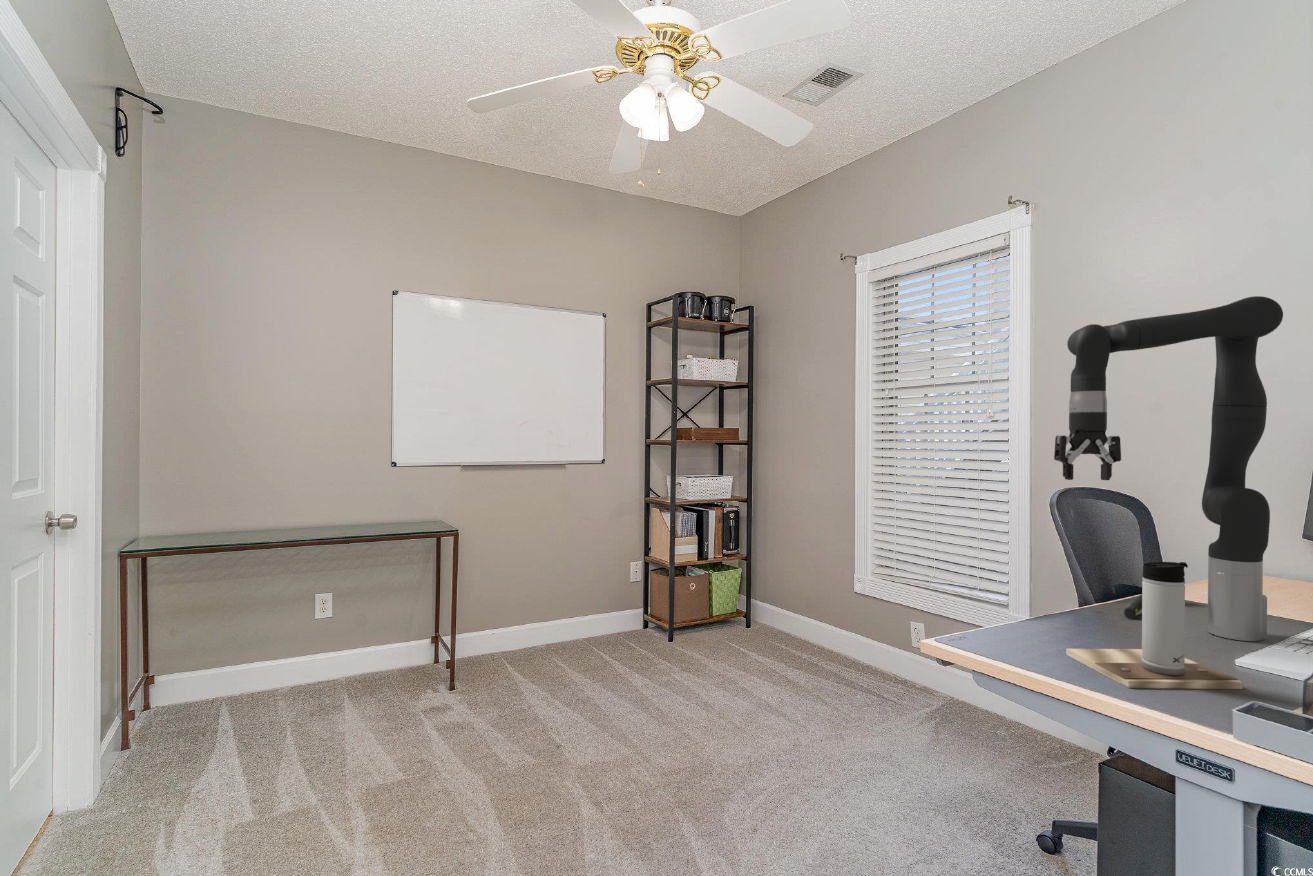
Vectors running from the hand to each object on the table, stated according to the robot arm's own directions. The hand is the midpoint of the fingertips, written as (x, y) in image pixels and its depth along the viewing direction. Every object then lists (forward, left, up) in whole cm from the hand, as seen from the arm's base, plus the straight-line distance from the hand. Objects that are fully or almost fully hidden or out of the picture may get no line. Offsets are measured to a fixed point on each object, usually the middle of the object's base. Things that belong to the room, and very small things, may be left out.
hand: (1087, 479), depth 157 cm
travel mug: (+8, +35, -33) cm, 49 cm away
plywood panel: (+8, +31, -34) cm, 47 cm away
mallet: (-25, -15, -35) cm, 45 cm away
